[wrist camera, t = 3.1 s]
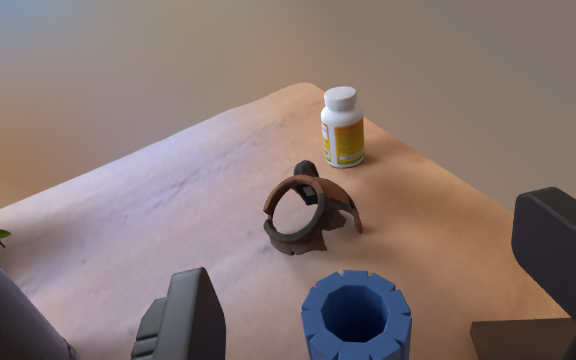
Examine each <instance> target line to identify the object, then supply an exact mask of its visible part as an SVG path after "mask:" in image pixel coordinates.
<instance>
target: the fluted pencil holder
mask: <svg viewBox="0 0 576 360" xmlns="http://www.w3.org/2000/svg"><path fill="white" fill-rule="evenodd" d="M316 286H317V288H316V287H312V288H311V289H310V291H309V293H308V295H307V297H306V299H305V301H304V303H303V305H302V312H301V318H302V323H303V328H304V332H305V337H306V342H307V347H308V352H309V356H310V360H409V350H410V338H411V325H412V318H411V310H410V308H409V306H408V304H407V302H406V301H405V299H404V297H403V295H402V293H401V291H400V290H395V287H396V286H395V284H393V283H391V282H389V281H388V280H386V279H384V278H382V277H381V276H379V275H377V274H375V273H372V275H371V276H370V277H369V278H368V271H354V270H343V271H342V277H341V275H340V274H339V273H338V272H335V273H333V274H331V275H329V276H327V277H325V278H323V279H322V280H320V281H318V282H316Z"/></svg>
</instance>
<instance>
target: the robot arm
mask: <svg viewBox="0 0 576 360" xmlns="http://www.w3.org/2000/svg"><path fill="white" fill-rule="evenodd" d="M511 245H512V251H513V254H514V256H515V258H516V260H517V262H518V263H519V265H520V266H521V267H522V268H523V269H524V270H525V271H526V272H527V273H528V274H529V275H530V276H531V277H532V278H533V279H534V280H535V281H536V282H537V283H538V284H539V285H540V286H541V287H542V288H543V289H544V290H545V291H546V292H547V293H548V294H549V295H550V296H551V297H552V298H553V299H554V300H555V301H556V302H557V303H558V304H559V305H560V306H561V307H562V308H563V309H564V310H565V311H566V312H567V313H568V314H569V315H570V316H571V317H572V318H573V319H574V320H575V321H576V199H574V198H572V197H571V196H569V195H568V194H566V193H565V192H563V191H562V190H560V189H558V188H555V187H548V188H544V189H540V190H536V191H531V192H527V193H523V194H520V195H519V196H518V197H517V199H516V204H515V212H514V221H513V231H512V240H511ZM225 349H226V324H225V318H224V314H223V310H222V307H221V305H220V302H219V300H218V298H217V295H216V293H215V290H214V288H213V285H212V283H211V280H210V278H209V275H208V273H207V271H206V269H205V268H204V267H201V268H197V269H193V270H188V271H184V272H180V273H175V274H173V275H172V278H171V281H170V285H169V289H168V294H167V297H165V298H161V299H156V300H155V301H154V302H153V304H152V305H151V306H150V308H149V309H148V311H147V312H146V313H145V315H144V316H143V318H142V320H141V323H140V326H139V330H138V333H137V336H136V342H135V343H134V346H133V350H132V353H131V360H225ZM0 360H81V358H80V356H79V354H78V353H77V351H76V350H75V349H74V348H73V347H72V346H71V345H70V344H68V342H67V341H66V340H65V339H64V338H63V337H62V336H61V335H60V334H59V333H58V332H57V331H56V330H55V329H54V327H53V326H52V325H51V324H50V323H49V322H48V321H47V319H46V318H45V317H44V316H43V315H42V314H41V313H40V312H39V310H38V309H37V308H36V307H35V306H34V305H33V304H32V303H31V301H30V300H29V299H28V298H27V297H26V296H25V295H24V294H23V292H22V291H21V290H20V289H19V288H18V287H17V286H16V284H15V283H14V282H13V281H12V280H11V279H10V278H9V277H8V275H7V274H6V273H5V272H4V271H3V270H2V269H1V268H0Z"/></svg>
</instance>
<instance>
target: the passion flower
mask: <svg viewBox="0 0 576 360" xmlns="http://www.w3.org/2000/svg"><path fill="white" fill-rule="evenodd" d="M10 234H11V233H9V232H8V231H5V230H1V229H0V238H4V237H7V236H9V235H10ZM0 244H1V245H2V246H3V247H4V248H5V247H6V246H5V245H4V244H3V243H2V241H1V240H0Z"/></svg>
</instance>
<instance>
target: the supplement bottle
mask: <svg viewBox="0 0 576 360" xmlns="http://www.w3.org/2000/svg"><path fill="white" fill-rule="evenodd" d="M324 98H325V105H326V107H325V108H324V109H323V110H322V113H321V123H322V132H323V141H324V151H325V158H326V161H327V162H328V163H329V164H330V165H332V166H334V167H339V168H347V167H352V166H355V165H357V164H359V163H360V162H361V161H362V160H363V158H364V131H363V111H362V108H361V107H360V106H359V105H358V104H356V102H357V94H356V90H355V89H354V88H351V87H335V88H332V89H329V90H328V91H326V92H325V94H324Z"/></svg>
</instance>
